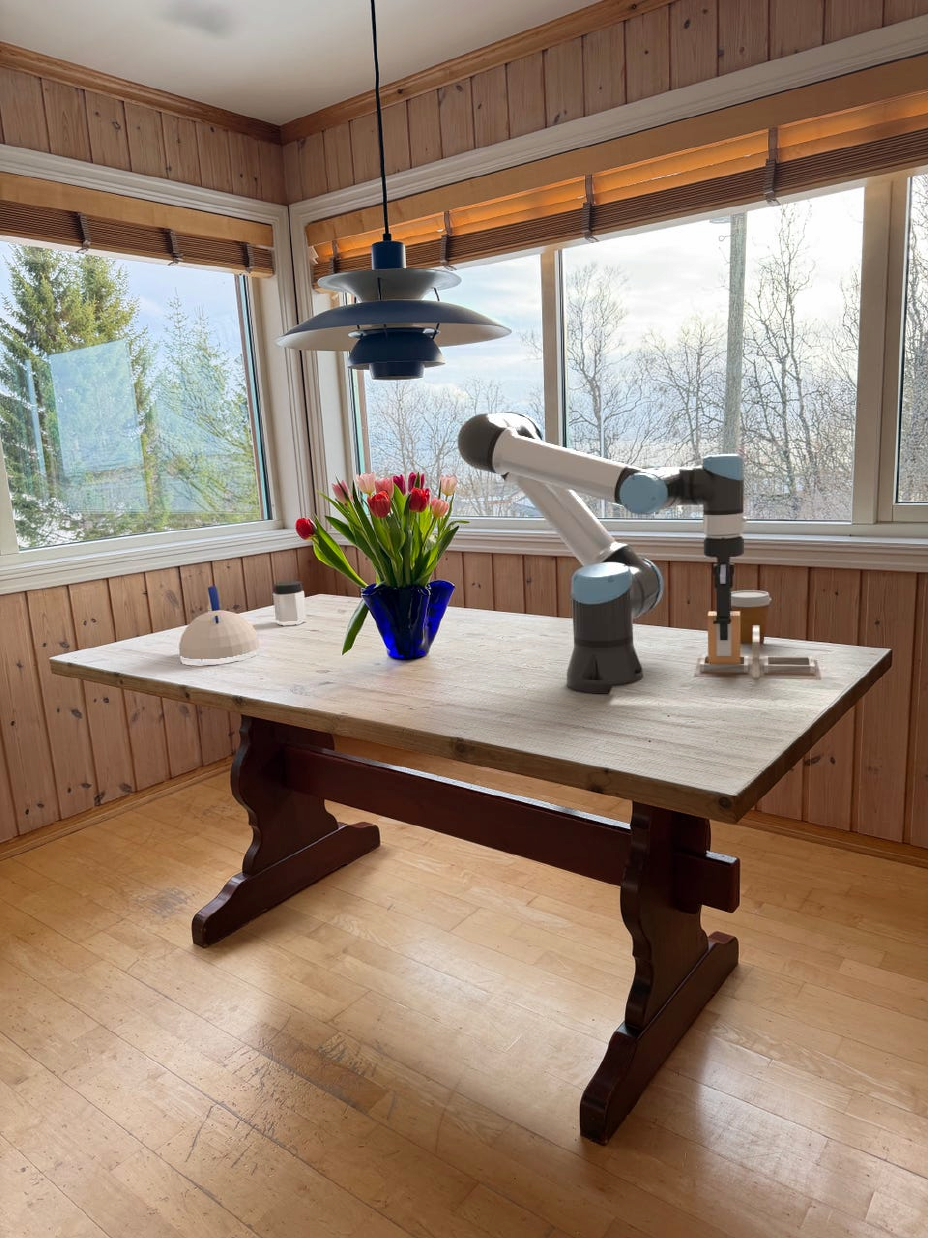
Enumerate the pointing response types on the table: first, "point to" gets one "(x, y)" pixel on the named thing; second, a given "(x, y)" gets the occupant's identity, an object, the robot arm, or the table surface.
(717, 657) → the block
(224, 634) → the beige dome cover
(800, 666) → the divided caddy with handle
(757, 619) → the disposable coffee cup
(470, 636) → the table surface
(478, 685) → the table surface
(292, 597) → the jar
